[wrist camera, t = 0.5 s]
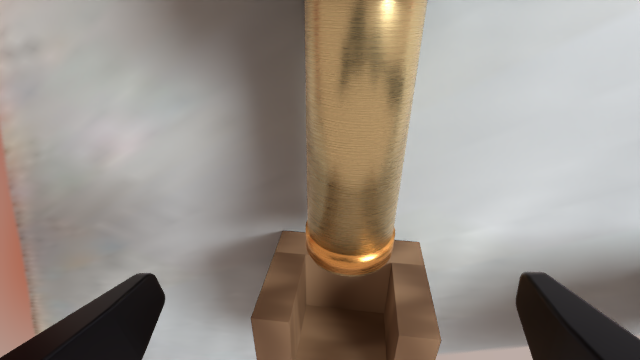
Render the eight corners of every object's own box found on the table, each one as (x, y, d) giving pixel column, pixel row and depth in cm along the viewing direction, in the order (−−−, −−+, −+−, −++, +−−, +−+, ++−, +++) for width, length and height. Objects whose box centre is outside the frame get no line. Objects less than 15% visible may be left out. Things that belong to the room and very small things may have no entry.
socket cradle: (419, 242, 21) (441, 340, 15) (406, 305, 24) (420, 409, 18) (282, 230, 22) (250, 318, 16) (286, 293, 25) (260, 387, 19)
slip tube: (482, -451, 8) (589, -864, 4) (389, 224, 17) (395, 282, 14) (309, -428, 8) (262, -781, 4) (312, 218, 18) (298, 273, 14)
